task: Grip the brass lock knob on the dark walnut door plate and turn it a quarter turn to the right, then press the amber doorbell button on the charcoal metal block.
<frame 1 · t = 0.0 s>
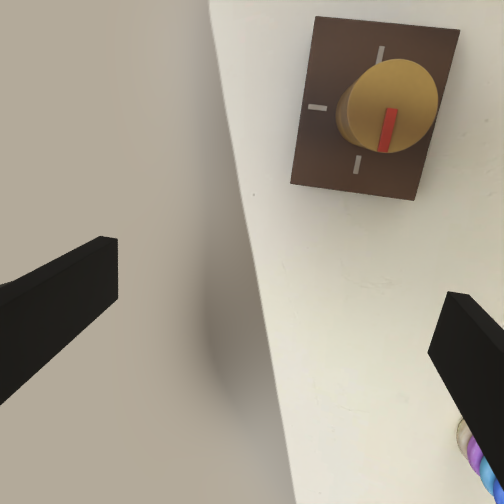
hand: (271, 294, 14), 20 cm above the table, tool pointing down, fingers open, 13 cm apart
lock knob: (378, 111, 23), point 7 cm above the table, hinge at 0.0°
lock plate: (361, 115, 30), on the table
stacking toy: (493, 429, 38), on the table
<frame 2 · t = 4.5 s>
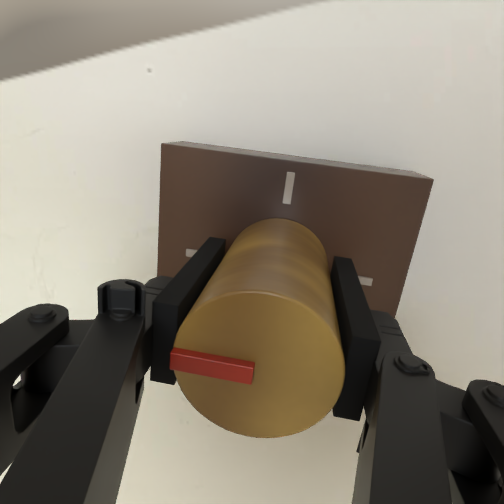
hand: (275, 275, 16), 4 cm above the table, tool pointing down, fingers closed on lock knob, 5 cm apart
lock knob: (268, 306, 14), point 7 cm above the table, hinge at 0.0°, touching gripper
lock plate: (280, 247, 20), on the table
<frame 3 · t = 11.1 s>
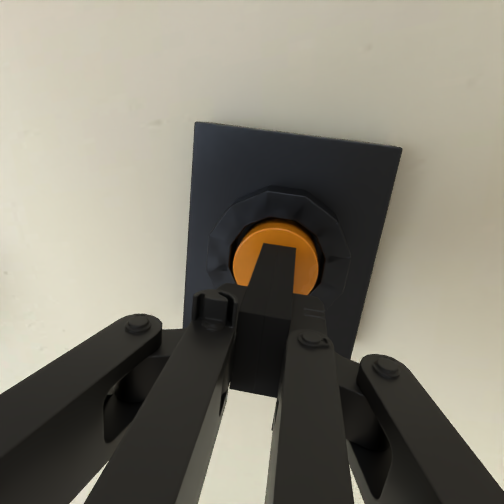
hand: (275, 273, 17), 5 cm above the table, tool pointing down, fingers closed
bell button: (276, 261, 18), point 4 cm above the table, slide at -0.8 cm, touching gripper
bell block: (280, 239, 21), on the table
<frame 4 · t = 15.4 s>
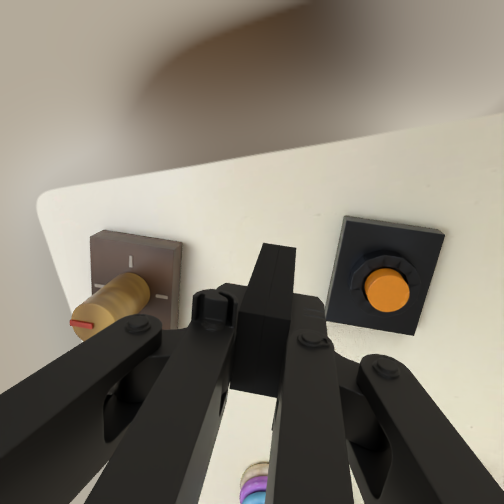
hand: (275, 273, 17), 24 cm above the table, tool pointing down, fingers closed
lock knob: (113, 307, 39), point 7 cm above the table, hinge at -89.4°
bell button: (386, 289, 37), point 5 cm above the table, slide at 0.1 cm
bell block: (377, 272, 41), on the table
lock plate: (141, 281, 46), on the table
stacking toy: (268, 479, 54), on the table
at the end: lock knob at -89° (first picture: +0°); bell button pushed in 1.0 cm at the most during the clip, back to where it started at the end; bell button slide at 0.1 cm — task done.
